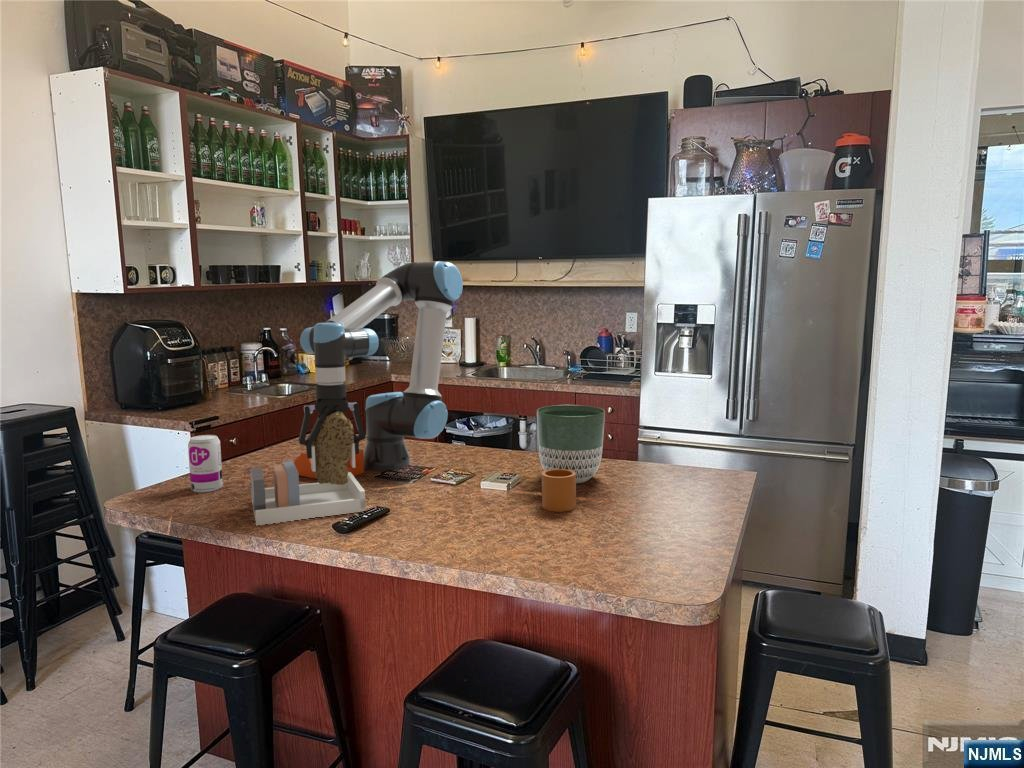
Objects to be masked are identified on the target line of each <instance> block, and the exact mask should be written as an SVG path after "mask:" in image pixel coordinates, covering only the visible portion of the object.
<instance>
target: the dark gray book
mask: <svg viewBox="0 0 1024 768" xmlns="http://www.w3.org/2000/svg"><path fill="white" fill-rule="evenodd" d="M250 480H251V482H250V483H251V484H250V485H251V490H252V494H251V502H252V501H253V506H254V511H253V513H254V512H255V510H262V509H266V502H265V488H266V486H265V482H266V481H265V476H264V473H263V470H262V467H261V466H254V467H253V466H252V467H250ZM253 506H252V507H253Z"/></svg>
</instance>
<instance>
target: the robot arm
mask: <svg viewBox="0 0 1024 768" xmlns="http://www.w3.org/2000/svg"><path fill="white" fill-rule="evenodd" d="M375 283H376V284H375V286H374V287H372V288H371V289H369V290H368V291H366V292H365V293H364V294H363V295H360V297H358V298H357V299H356V300H354V301H353V302H352V303H350V304H349V305H348V306H346V307H344V308H343V309H342V310H340V311H339V312H337V314H335V315H334V316H332V317H330V319H328V320H326V321H325V322H318V323H315V325H314V326H312V327H307V328H305V329H303V331H302V332H301V334H300V338H299V343H300V346H301V348H302V350H303V351H304V352H305V353H306V354H310V355H314V370H315V371H314V377H315V378H314V379H315V380H314V381H315V382H316V383H317V384H316V385H315V402H314V404H310V405H307V404H304V405H303V413H304V415H303V420H302V423H301V428H300V433H299V436H298V441H297V442H298V443H299V444H300V445H301V446H302V445H303V446H305V449H306V450H305V452H306V456H307V458H308V459H309V458H311V470H312V471H313V472H314V471H316V466H315V446H314V445H313V444H312V443H313V441H314V439H315V437H316V435H317V433H318V431H319V429H320V427H321V425H322V423H323V422H324V420H325V419H326V417H327V416H329V415H331V414H333V413H335V412H342V413H343V415H344V416H345V417H346V415H345V413H346V410H348V408H349V410H350V411H351V413H352V415H353V419H354V422H355V426H356V430H357V433H358V435H357V433H356V432H355V431H354V438H353V443H352V448H351V455H350V459H351V466H352V468H355V454H358V453H359V449H360V441H364V440H366V444H365V447H364V449H363V452H364V470H367V471H371V472H372V471H373V472H374V471H375V472H388V471H387V470H391V471H395V470H394V469H397V470H399V469H398V468H402V469H404V468H403V467H405V468H407V467H409V466H410V465H411V456H410V454H409V451H408V448H407V445H406V443H405V437H409V438H415V439H416V438H417V439H419V440H420V439H423V440H424V439H429V440H431V439H435V438H436V437H438V436H439V435H440V434H441V432H442V431H443V430H444V429H445V427H446V425H447V421H448V415H449V414H448V413H449V412H448V409H447V405H446V404H445V403H444V402H443V401H442V397H443V395H442V394H441V393H440V392H439V389H438V388H439V381H440V371H441V364H442V357H443V356H442V355H443V347H444V338H445V330H446V323H447V313H448V312H449V311H451V310H452V309H453V306H454V305H453V304H454V302H455V301H456V300H458V299H460V297H461V296H462V295H463V294H462V293H463V290H464V289H463V286H464V283H463V277H462V275H461V273H460V271H459V268H458V267H457V266H456V265H455V264H453V263H452V262H449V261H440V260H439V261H425V262H424V261H423V262H421V261H420V262H409V263H405V264H403V265H400V266H398V267H396V268H394V269H393V270H391V271H389V272H388V273H386V274H384V275H383V276H382V277H380V278H379V279H377V281H376V282H375ZM413 300H414V304H415V306H416V307H417V309H418V315H417V320H416V321H417V322H416V328H415V329H416V331H415V337H414V345H413V353H412V363H411V369H410V377H409V386H408V387H407V388H406V389H405V390H404V391H403V392H402V391H393V392H385V393H377V394H371V395H369V396H368V397H366V399H365V409H364V411H365V427H366V428H365V429H366V430H364V426H363V424H362V420H361V416H360V413H359V410H360V409H359V406H360V405H359V403H357V401H354V402H348V400H347V387H346V386H347V385H346V383H345V382H346V381H347V380H346V359H350V358H360V357H361V358H362V357H363V358H366V357H369V356H372V355H375V353H376V352H377V351H378V348H379V344H380V342H379V335H377V333H376V331H375V330H374V329H371V328H365V327H366V326H367V325H369V323H371V322H372V321H374V319H376V318H378V317H379V315H382V314H383V313H384V312H385V311H386V310H388V309H389V308H390V307H397V306H398V305H400V304H401V303H403V302H406V301H413ZM314 410H316V412H317V413H318V416H317V418H316V421H315V422H314V425H313V427H312V428H311V430H310V432H309V434H308V436H307V433H308V428H309V424H310V420H311V415H312V414H313V412H314ZM365 432H366V433H365ZM306 436H307V439H306ZM408 465H409V466H408ZM406 466H407V467H406Z"/></svg>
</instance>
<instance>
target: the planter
mask: <svg viewBox="0 0 1024 768" xmlns="http://www.w3.org/2000/svg"><path fill="white" fill-rule="evenodd" d="M605 416H606V410H605V409H604V408H601V407H599V406H598V407H597V406H592V405H583V404H582V405H581V404H559V405H558V404H556V405H546V406H543V407H542V406H541V407H540V408H537V409H536V423H537V425H536V426H537V443H538V455H539V462H540V464H541V466H542V469H543V471H546V470H551V469H566V470H571V471H574V472H575V473H576V485H577V484H582V483H586V482H587V481H589V480H590V479H591V478H592V477H593V476H594V475H596V473H597V472H598V470H599V468H600V465H601V461H602V457H603V456H602V455H603V447H604V435H605V434H604V432H605V421H606V418H605Z"/></svg>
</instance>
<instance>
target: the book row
mask: <svg viewBox="0 0 1024 768" xmlns="http://www.w3.org/2000/svg"><path fill="white" fill-rule="evenodd" d="M272 469H273V487H274V494H275V503H276V506H277V508H279V507H287V506H296V505H300V496H299V485H300V481H299V480H300V477H299V476H300V475H299V473H298V471H297V469H296V467H295V464H294V461H293V460H291V461H290V460H289V461H283V462H282V463H281V464H273V465H272Z"/></svg>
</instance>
